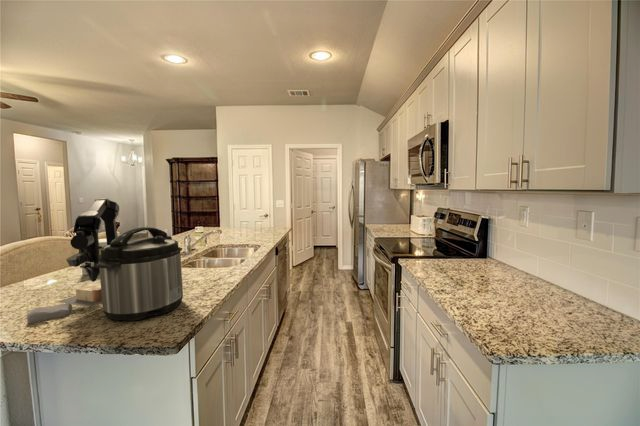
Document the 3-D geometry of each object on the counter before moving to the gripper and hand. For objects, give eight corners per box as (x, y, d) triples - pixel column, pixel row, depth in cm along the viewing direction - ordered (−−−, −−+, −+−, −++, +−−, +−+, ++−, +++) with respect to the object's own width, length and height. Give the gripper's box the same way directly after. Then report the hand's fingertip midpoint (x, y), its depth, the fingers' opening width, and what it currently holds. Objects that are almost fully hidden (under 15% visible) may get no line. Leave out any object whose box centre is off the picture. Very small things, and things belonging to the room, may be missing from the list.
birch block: (90, 284, 133) (108, 286, 130) (91, 294, 134) (109, 296, 130) (75, 288, 128) (94, 291, 124) (76, 299, 128) (95, 302, 125)
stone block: (34, 320, 115) (25, 325, 106) (35, 306, 115) (25, 311, 107) (74, 314, 120) (68, 318, 112) (74, 301, 121) (68, 305, 112)
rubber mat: (92, 291, 139) (91, 290, 139) (121, 295, 134) (121, 294, 134) (57, 302, 126) (57, 301, 126) (88, 307, 120) (88, 306, 120)
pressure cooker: (173, 289, 140) (169, 221, 137) (198, 307, 119) (193, 227, 116) (92, 308, 119) (85, 228, 116) (105, 334, 99) (97, 237, 96)
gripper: (53, 247, 122) (56, 285, 123) (86, 249, 116) (89, 289, 118) (82, 242, 133) (85, 277, 134) (114, 244, 127) (117, 281, 128)
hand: (93, 281), depth 128 cm, fingers closed
